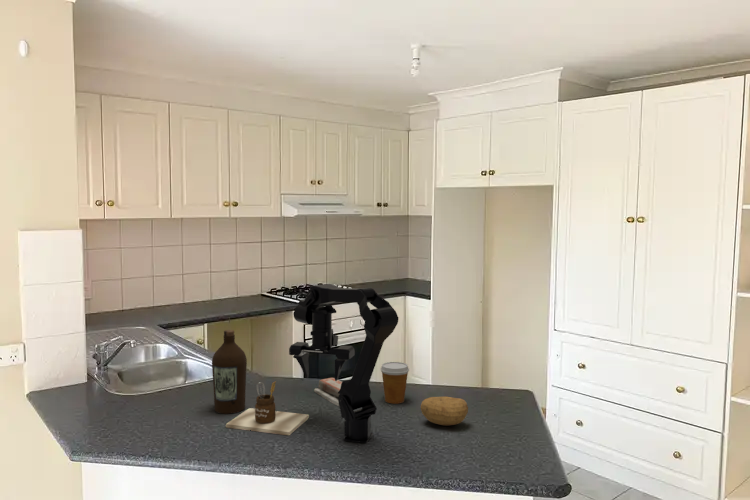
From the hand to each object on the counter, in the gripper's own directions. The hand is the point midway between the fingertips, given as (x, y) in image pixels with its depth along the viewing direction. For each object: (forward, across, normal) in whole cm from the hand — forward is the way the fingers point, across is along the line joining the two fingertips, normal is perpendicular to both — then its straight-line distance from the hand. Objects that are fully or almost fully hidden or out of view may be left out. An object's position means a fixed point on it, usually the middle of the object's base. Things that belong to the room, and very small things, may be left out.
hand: (321, 379), depth 167 cm
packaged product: (+14, +3, -24) cm, 27 cm away
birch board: (+13, +15, +5) cm, 20 cm away
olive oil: (+13, +32, -2) cm, 35 cm away
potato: (+13, -35, -9) cm, 39 cm away
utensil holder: (+12, +15, +6) cm, 20 cm away
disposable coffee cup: (+13, -16, -25) cm, 33 cm away
